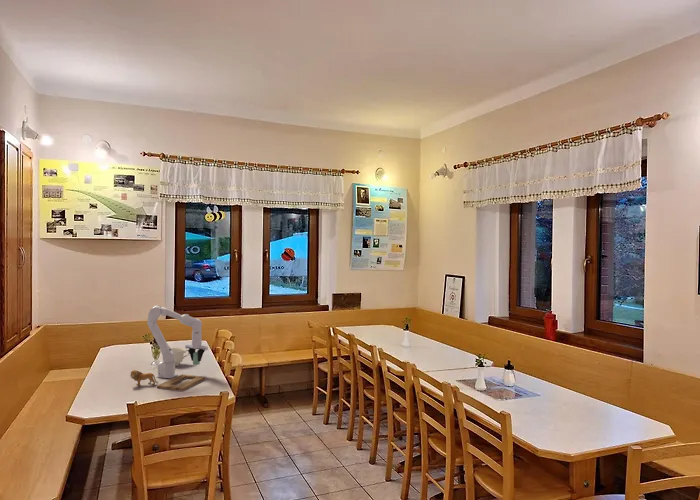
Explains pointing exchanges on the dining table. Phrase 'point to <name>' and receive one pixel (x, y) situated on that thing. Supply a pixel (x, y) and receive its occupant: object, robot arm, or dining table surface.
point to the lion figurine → (142, 377)
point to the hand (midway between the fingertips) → (196, 360)
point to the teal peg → (195, 359)
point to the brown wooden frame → (171, 383)
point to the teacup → (179, 355)
